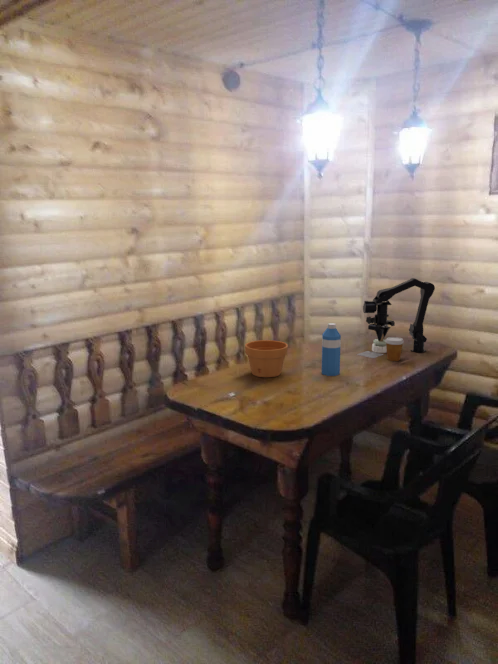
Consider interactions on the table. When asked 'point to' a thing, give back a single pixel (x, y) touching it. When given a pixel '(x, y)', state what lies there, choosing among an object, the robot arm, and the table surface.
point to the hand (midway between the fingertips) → (380, 340)
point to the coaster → (370, 354)
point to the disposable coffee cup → (394, 348)
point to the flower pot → (266, 357)
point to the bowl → (379, 348)
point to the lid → (381, 342)
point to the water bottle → (331, 351)
